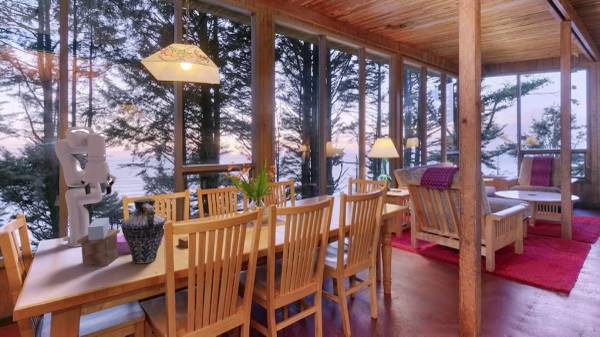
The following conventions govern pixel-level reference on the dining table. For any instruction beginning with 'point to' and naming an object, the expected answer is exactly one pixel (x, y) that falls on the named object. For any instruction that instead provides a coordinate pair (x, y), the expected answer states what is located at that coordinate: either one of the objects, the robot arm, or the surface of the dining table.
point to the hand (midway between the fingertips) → (98, 194)
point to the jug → (143, 231)
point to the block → (98, 228)
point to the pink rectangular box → (124, 245)
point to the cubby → (99, 249)
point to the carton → (183, 242)
